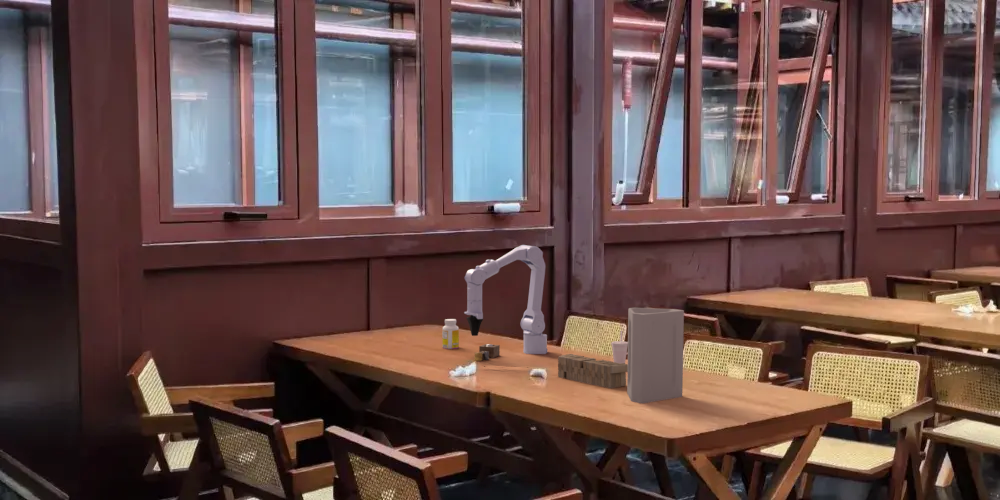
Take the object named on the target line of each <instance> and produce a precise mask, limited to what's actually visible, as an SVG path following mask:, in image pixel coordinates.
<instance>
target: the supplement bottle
mask: <svg viewBox="0 0 1000 500" xmlns="http://www.w3.org/2000/svg"><path fill="white" fill-rule="evenodd" d="M441 329H442V333H441V335H442V337H441V338H442V345H441V347H442V348H443V349H446V350H452V349H453V350H454V349H459V347H460V344H459V343H460V337H459V335H460V331H459V330H460V327H459V326H458V325H457V319H456V318H447V319H446V318H445V319H444V326H442V328H441Z"/></svg>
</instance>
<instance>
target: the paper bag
mask: <svg viewBox="0 0 1000 500" xmlns="http://www.w3.org/2000/svg"><path fill="white" fill-rule="evenodd" d="M627 312H628V318H627V321H628V322H627V325H628V327H627V342H628V346H627V364H628V372H627V378H626V386H627V387H626V388H627V390H626V394H627V395H628V398H629V400H630V401H631V402H632V403H638V404H648V403H651V402H652V403H653V402H660V401H666V400H671V399H677V398H682V397H683V386H684V385H683V383H684V381H683V380H684V377H683V374H684V370H683V369H684V332H685V331H684V326H685V325H684V323H685V321H684V320H685V310H683V309H677V308H656V307H655V308H653V307H652V308H651V307H649V308H648V307H629V308H628V311H627Z"/></svg>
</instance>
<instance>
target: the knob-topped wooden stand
mask: <svg viewBox="0 0 1000 500" xmlns="http://www.w3.org/2000/svg"><path fill="white" fill-rule="evenodd" d="M487 344H488V343H486V344H482V345H479V346H478V347H479V349H478V350H479V351H478V352H477V351H476V352H474V361H476V362H481V361H485V360H484V351H488V352H489V358H490V359H491V358H492V359H494V358H497V357H499V356H500V352H501V351H500V344H492V345H493V346H492V347H489V346H486V345H487Z"/></svg>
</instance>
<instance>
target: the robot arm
mask: <svg viewBox="0 0 1000 500" xmlns="http://www.w3.org/2000/svg"><path fill="white" fill-rule="evenodd" d="M543 255H544V251H542V250H541V248H539V247H538V246H536V245H526V244H521V245H519V246H517V247H514V249H512V250H510V251H509V252H507V253H505V254H504V255H502V256H501V257H499V258H498V259H496V260H494V259H486V260H485V262H484V263H482V264H480V265H476V266H475V268H471V269H468V270H467V271H466V273H465V276H464V280H465V282H466V285H467V287H466V289H467V290H466V291H467V293H466V295H467V299H466V301H467V305H466V311H464V312H463V313H464V314H465V315H467V317H466V320H467V322H468V325H469V330H470V335H471V336H473V337H477V336H479V331H480V328H481V325H482V322H483V321H484V313H483V284H484V282H485V280H487V279H489V278H491V277H492V276H494V275H496V274H498V273H499V272H500V269H501V268H502V267H504V266H507V265H509V264H511V263H513V262H515V261H521V262H522V263H525V264H526V266H528V267H529V269H531V271H530V281H529V290H528V298H527V299H528V300H527V308H526V310H525V311H524V312H523V316H522V318H521V320H520V327H521V329H522V331H523V350H522V351H523V354H526V355H527V354H528V355H546V354H548V348H547V347H548V340H547V339H548V335H547V334H545V333H543V332H544V331H545V328H546V323H545V315H544V314H543V313H544V312H543V311H542V302H543V292H544V286H545V285H544V283H545V275H546V262H545V260H544V257H543Z"/></svg>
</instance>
